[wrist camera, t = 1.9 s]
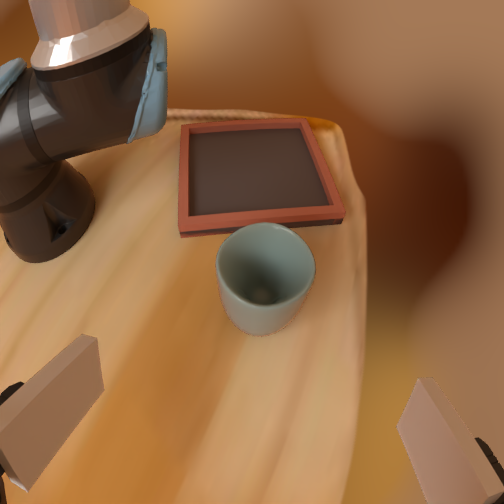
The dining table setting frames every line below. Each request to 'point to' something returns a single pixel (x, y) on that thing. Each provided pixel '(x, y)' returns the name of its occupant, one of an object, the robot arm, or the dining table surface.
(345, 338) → the dining table surface
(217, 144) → the tray
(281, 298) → the cup
